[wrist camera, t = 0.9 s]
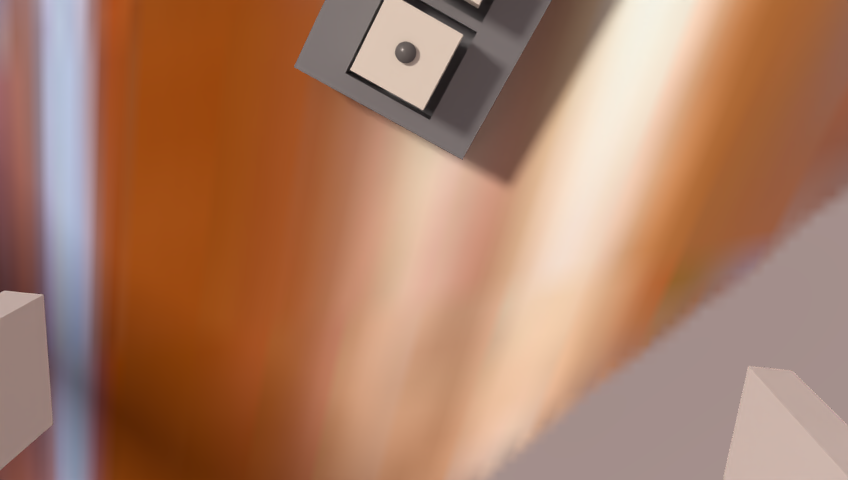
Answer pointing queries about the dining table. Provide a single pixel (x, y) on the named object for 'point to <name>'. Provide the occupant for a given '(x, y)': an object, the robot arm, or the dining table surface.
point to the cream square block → (474, 2)
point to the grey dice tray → (463, 78)
